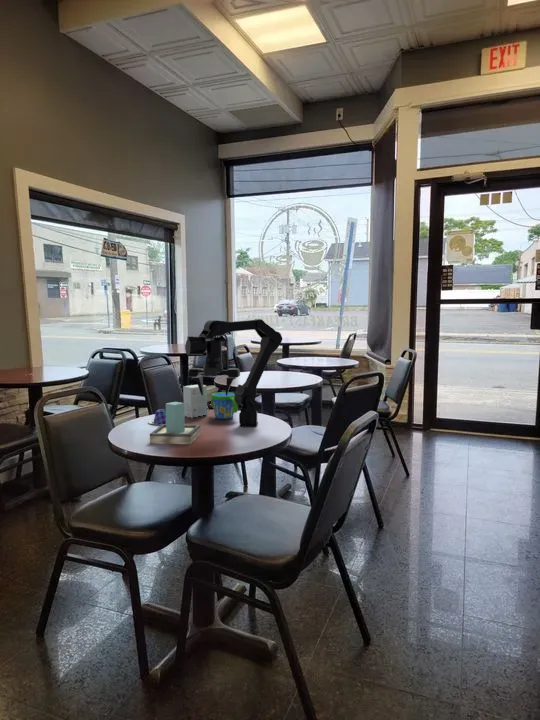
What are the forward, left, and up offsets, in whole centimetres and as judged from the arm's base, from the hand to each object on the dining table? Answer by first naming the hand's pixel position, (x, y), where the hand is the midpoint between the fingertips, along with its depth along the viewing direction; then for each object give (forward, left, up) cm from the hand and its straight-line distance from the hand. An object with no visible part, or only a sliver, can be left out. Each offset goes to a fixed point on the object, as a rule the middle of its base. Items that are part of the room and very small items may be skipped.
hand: (214, 395), depth 177 cm
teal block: (+11, +14, -10) cm, 21 cm away
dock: (+11, +14, -13) cm, 22 cm away
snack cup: (0, -20, -13) cm, 24 cm away
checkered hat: (+23, -10, -14) cm, 29 cm away
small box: (+13, -23, -13) cm, 30 cm away
